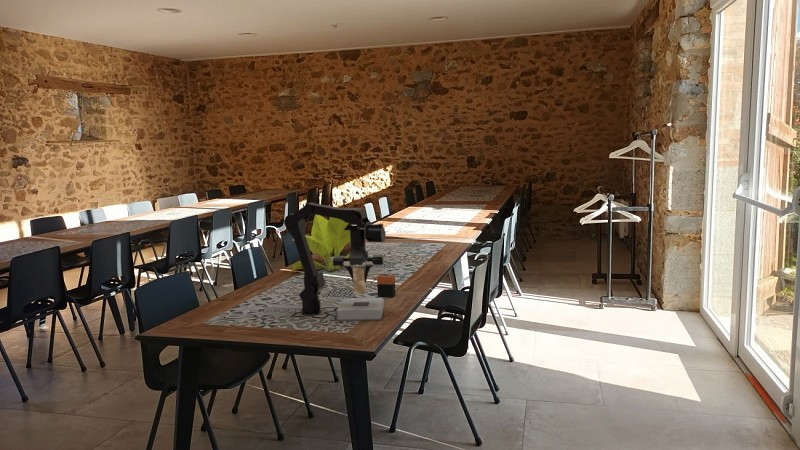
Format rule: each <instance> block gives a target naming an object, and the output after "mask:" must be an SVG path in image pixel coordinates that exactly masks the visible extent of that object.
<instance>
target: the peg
mask: <svg viewBox="0 0 800 450" xmlns="http://www.w3.org/2000/svg"><path fill="white" fill-rule="evenodd" d="M364 278H365V265H353V280H354V283H353V294H354V295H365V294H366V292H367V287H366V286H367V285H366V284H367V283H365V279H364Z"/></svg>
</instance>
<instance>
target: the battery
mask: <svg viewBox="0 0 800 450" xmlns="http://www.w3.org/2000/svg"><path fill="white" fill-rule="evenodd" d="M376 284H377V285H376V286H377V298H394V297H395V296H396V294H397V293H396V275H395V273H394V274H393V273H392V272H390V273H389V272H388V273H386V272H384V271H382V272H379V274H378V275H377V276H376Z"/></svg>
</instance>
